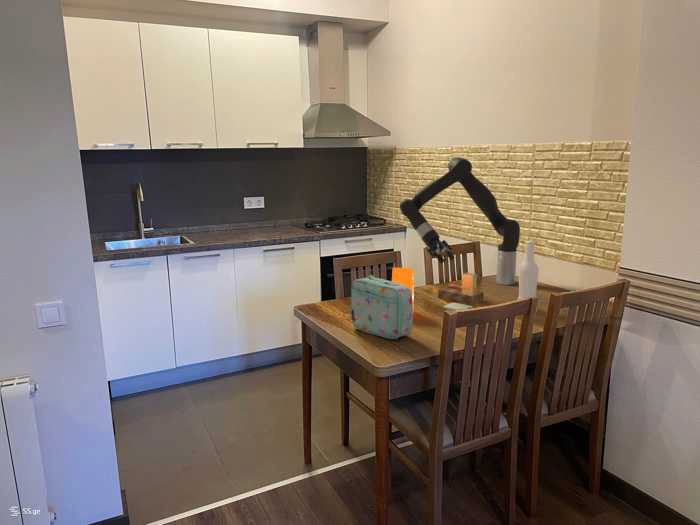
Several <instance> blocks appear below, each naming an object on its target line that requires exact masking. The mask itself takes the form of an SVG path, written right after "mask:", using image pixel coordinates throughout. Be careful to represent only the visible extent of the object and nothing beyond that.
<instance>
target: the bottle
mask: <svg viewBox="0 0 700 525" xmlns="http://www.w3.org/2000/svg"><path fill="white" fill-rule="evenodd" d="M524 248H525V250H524V259H523V262H522V263H520V265H519V266H518V298H517V300H519V299H523V298H527V297H536V296H537V288H538V287H537V286H538V279H539V266H538V264H537V263H536V261H535V248H536V246H535V241H534V240H525V247H524Z"/></svg>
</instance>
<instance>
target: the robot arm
mask: <svg viewBox="0 0 700 525" xmlns="http://www.w3.org/2000/svg"><path fill="white" fill-rule="evenodd" d="M447 168H448V171H447V172H446V173H445V174H443V175H442V176H440V177H438V178H437V179H434V180H432V181H430V182H429V183H427V184H425V185H424V186H422V187H421V188H420V189H419V190H417V191H416V193H414V196H413V198H411V199H409V198H404V199H402V201H401V202H400V203H399V209H400V212H401V214H402V215H403V216H404V217H406V219H408V222H409V223H410V225H411V226H412V228H413V229H414V230H415V232H416V233H417V235H418V236H419V238H420V239H421V240H422V242H423V243H424V244H425V245H426V246H425V249H426V250H427V253H428V254H429V255H430V256H431V257H432V258H433V257H434V258H435V259H437V261H438V262H439V263H440V264H443V263H445V259H444V257H443V256H442V255H441V254H440V253H444V254H446V256H447V257H448V260H450V261H453V260H454V259H455V256H454V254H453V253H452V252H451V251H452V250H453V249H452V247H451V246H450V245H449V243H448V242H447V241H446V240H445V239H443V240H442V241H441V240H440V235H439V234H438V232H437V231H436V230H435V228H434V227H433V226H432V225H431V224H430V222H428V220H427V219H426V217H425V216H423V214H422V213H421V211H420V210H421V209H422V208H423V207H424V206H425V204H427V203H428V202H429V201H431V200H432V199H434V198H435V197H436V196H437V195H439V194H440V193H441V192H443V191H444V190H446V189H448V188H449V187H451V186H453V185H454V184H456V183H458V182H459V184H460V185H461V187H463V188H464V189H465V191H466V193H467V194H468V195H469V197H470V199H471V200H472V202H473V203H474V204H475V205H476V207H478V208H479V210H480V211H481V212H482V213H483V215H484V216H485V218H487V219H488V221H489V222H490V224H491V225H492V227H493V228H494V230H495V232H496V234H498V235H499V236H501V237H502V243H500V244H498V245H497V263H496V277H495V278H496V280H495V281H496V283H497V284H498V285H499V284H500V285H505V286H511V285H515V284H516V275H517V274H516V272H517V271H516V270H517V250H518V249H517V248H518V246H519V244H520V234H521V227H520V223H519V222H518V221H517V220H515V219H509V218H507V217H506V216H505V215H504V214H503V213H502V211H500V208H499V207H498V202H497V199H496V197H495V195H494V194H493V193H492V191H491V190H490V189H489V188H488V187H487V186H486V185H485V184H484V183H483V182H481V181H480V180H479V179H478V178H477V177H476V176H475V175H474V174H473V173H472V169H473V165H472V163H471V162H470V160H469V159H466V158H463V157H459V156H458V157H453V158H451V159H450V160H449V162H448V166H447Z"/></svg>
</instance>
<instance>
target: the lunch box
mask: <svg viewBox="0 0 700 525" xmlns="http://www.w3.org/2000/svg"><path fill="white" fill-rule="evenodd" d="M350 289H351V290H350V297H351V298H350V301H349V303H350V317H351V318H350V319H351V323H352V325H353V327H354V328H355V329H357V330H359V331H361V332H363V333H367V334H371V335H374V336H376V337H377V336H378V337H382V338H384V339H388V340H397V339H399V338H400V337H404V336H409V335H410V334H412V330H413V322H414V321H413V320H414V311H413V298H412V292H411V290H410V288H409V287H407V286H405V285H402V284H399V283H396V282H392V280H387V279H383V278H380V277H379V278H378V277H375V276H374V274H373V275H368V277H364V278H357V279H355V280H353V283H352V284H351V288H350Z"/></svg>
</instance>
